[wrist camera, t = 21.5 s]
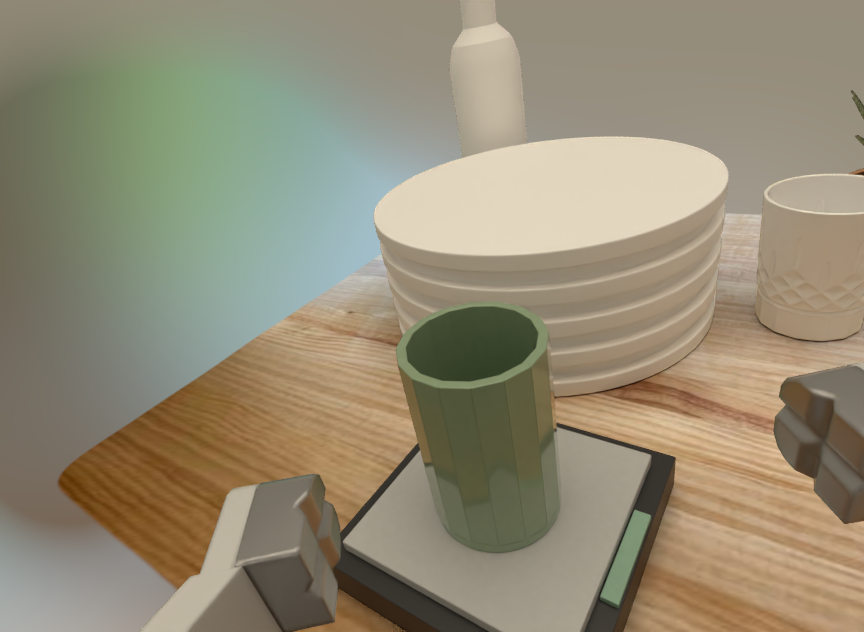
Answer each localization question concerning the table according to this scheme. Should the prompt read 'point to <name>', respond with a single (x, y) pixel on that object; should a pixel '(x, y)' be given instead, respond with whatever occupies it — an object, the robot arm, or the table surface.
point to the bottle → (486, 82)
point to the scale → (521, 569)
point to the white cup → (812, 257)
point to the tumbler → (485, 421)
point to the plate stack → (568, 248)
